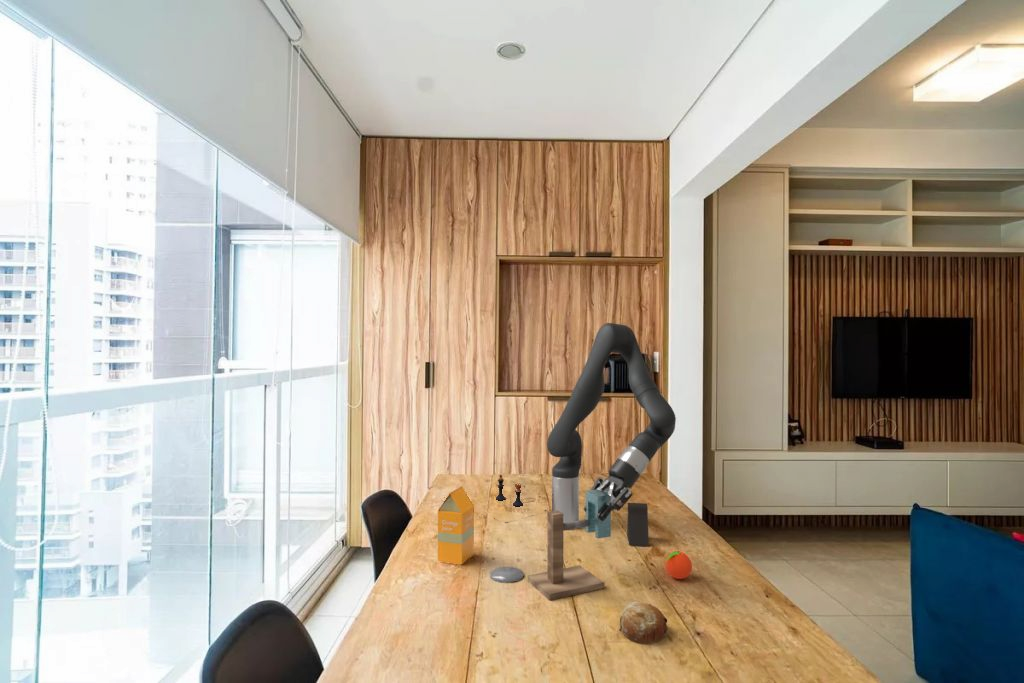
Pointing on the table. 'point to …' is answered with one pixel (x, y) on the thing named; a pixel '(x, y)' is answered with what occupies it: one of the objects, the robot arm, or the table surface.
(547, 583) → the stand
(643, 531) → the phone stand
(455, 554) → the orange juice
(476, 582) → the table surface
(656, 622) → the bread roll
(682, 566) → the clementine
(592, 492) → the c link
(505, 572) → the coaster
